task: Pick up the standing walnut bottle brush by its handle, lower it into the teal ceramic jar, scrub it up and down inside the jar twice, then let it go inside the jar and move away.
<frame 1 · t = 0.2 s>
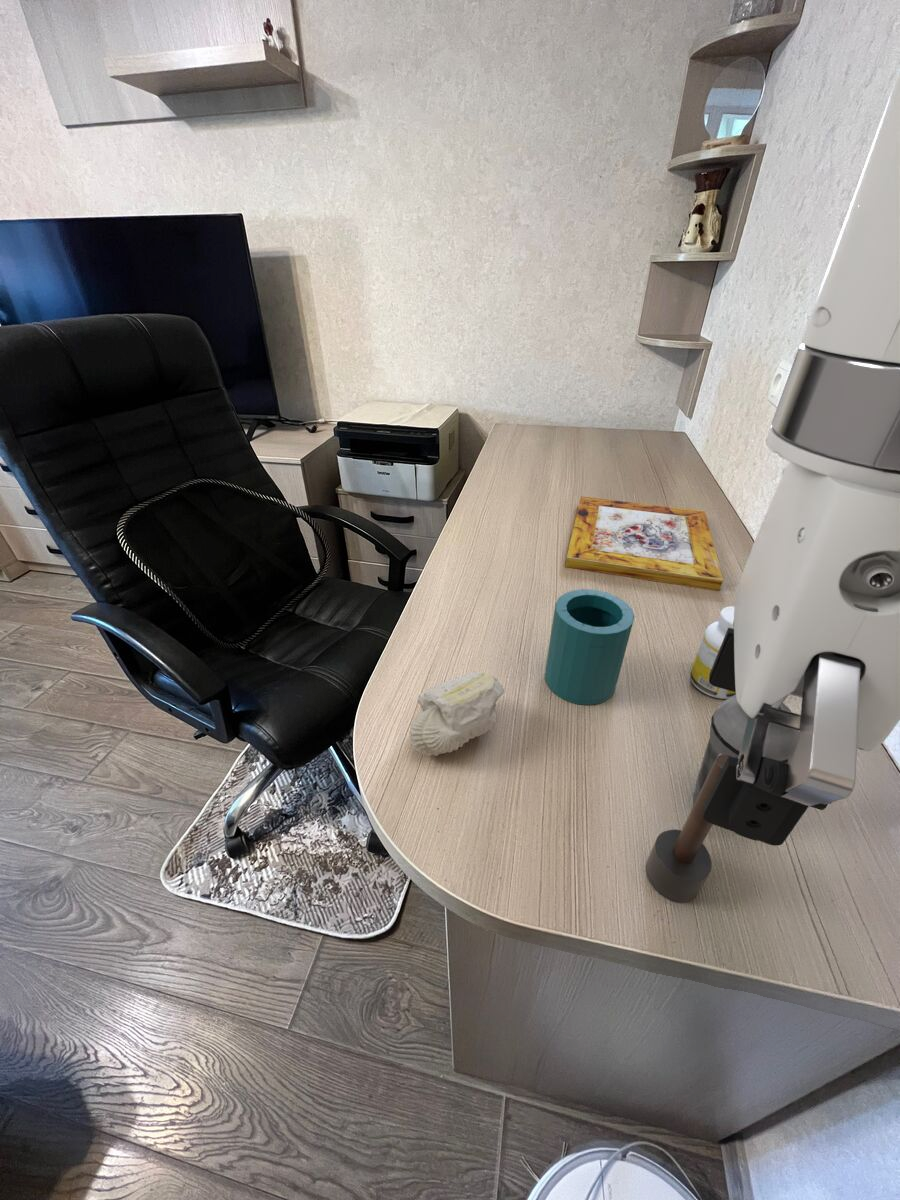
hand: (737, 749, 26), 27 cm above the table, tool pointing down, fingers open, 9 cm apart
picture frame: (639, 542, 104), on the table
beverage cup: (714, 805, 54), on the table
pill bottle: (713, 685, 69), on the table
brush: (671, 876, 48), on the table
fossil replica: (454, 734, 62), on the table
jar: (579, 679, 70), on the table
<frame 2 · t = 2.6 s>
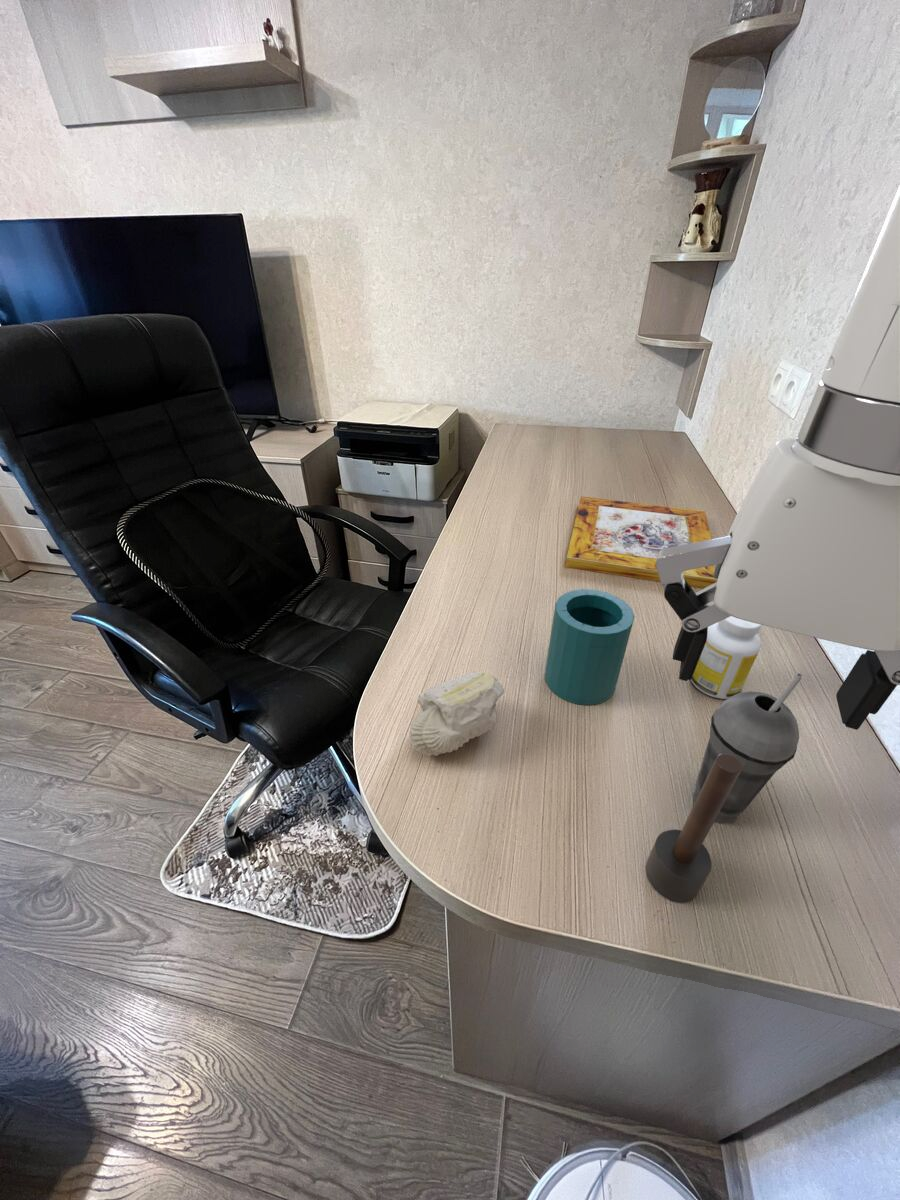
hand: (761, 689, 34), 25 cm above the table, tool pointing down, fingers open, 9 cm apart
nothing on the table moved.
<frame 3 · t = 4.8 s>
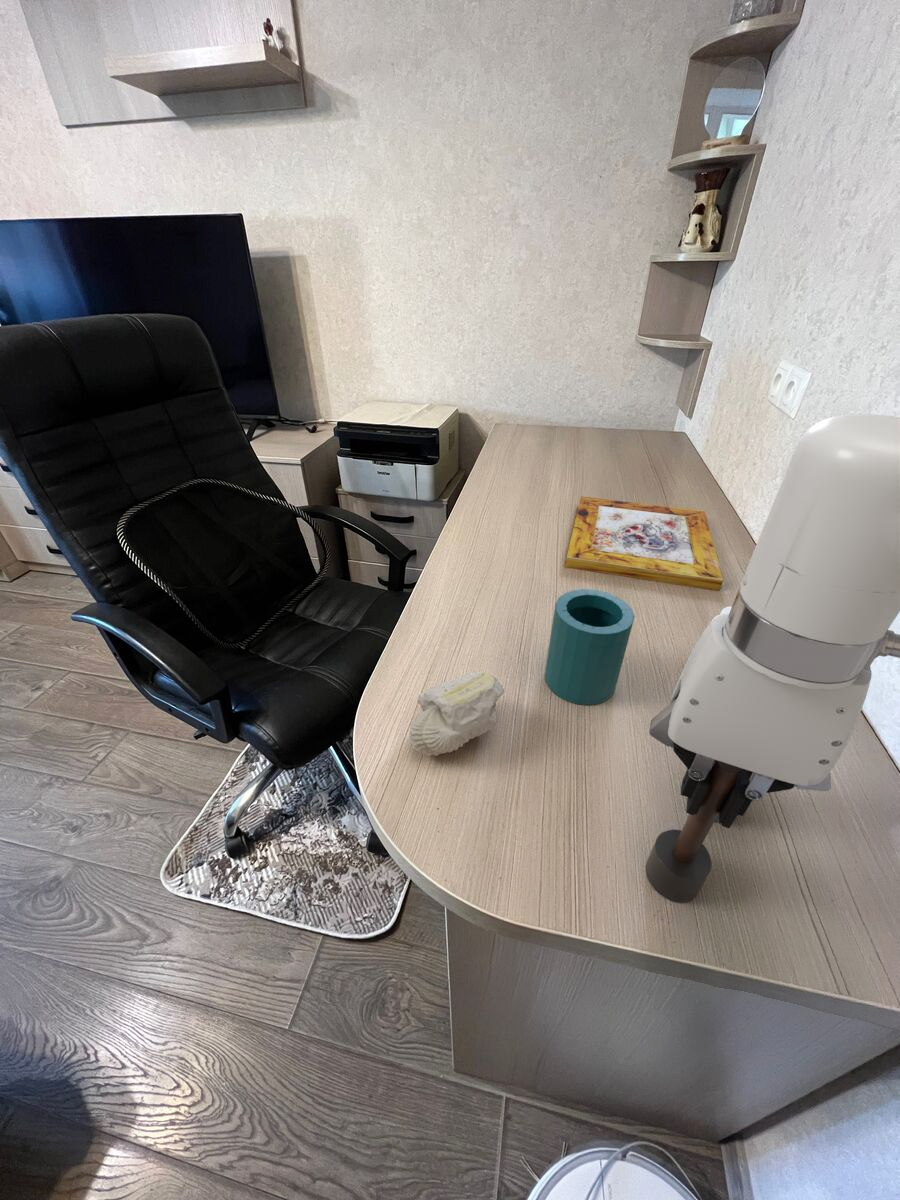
hand: (707, 805, 41), 12 cm above the table, tool pointing down, fingers closed on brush
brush: (671, 876, 48), on the table, touching gripper
everything else where it was.
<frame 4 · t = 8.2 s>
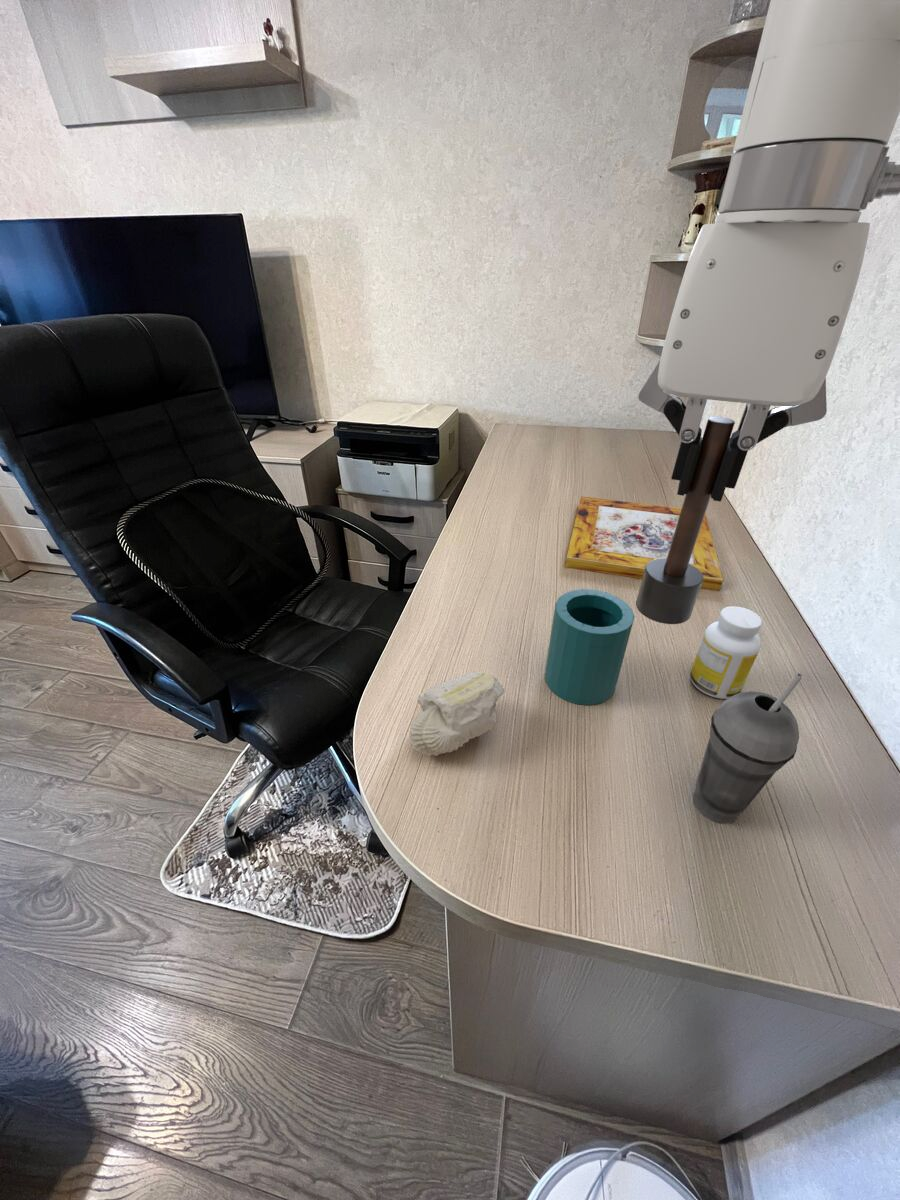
hand: (699, 490, 40), 33 cm above the table, tool pointing down, fingers closed on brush
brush: (662, 608, 46), point 22 cm above the table, touching gripper
everything else where it was.
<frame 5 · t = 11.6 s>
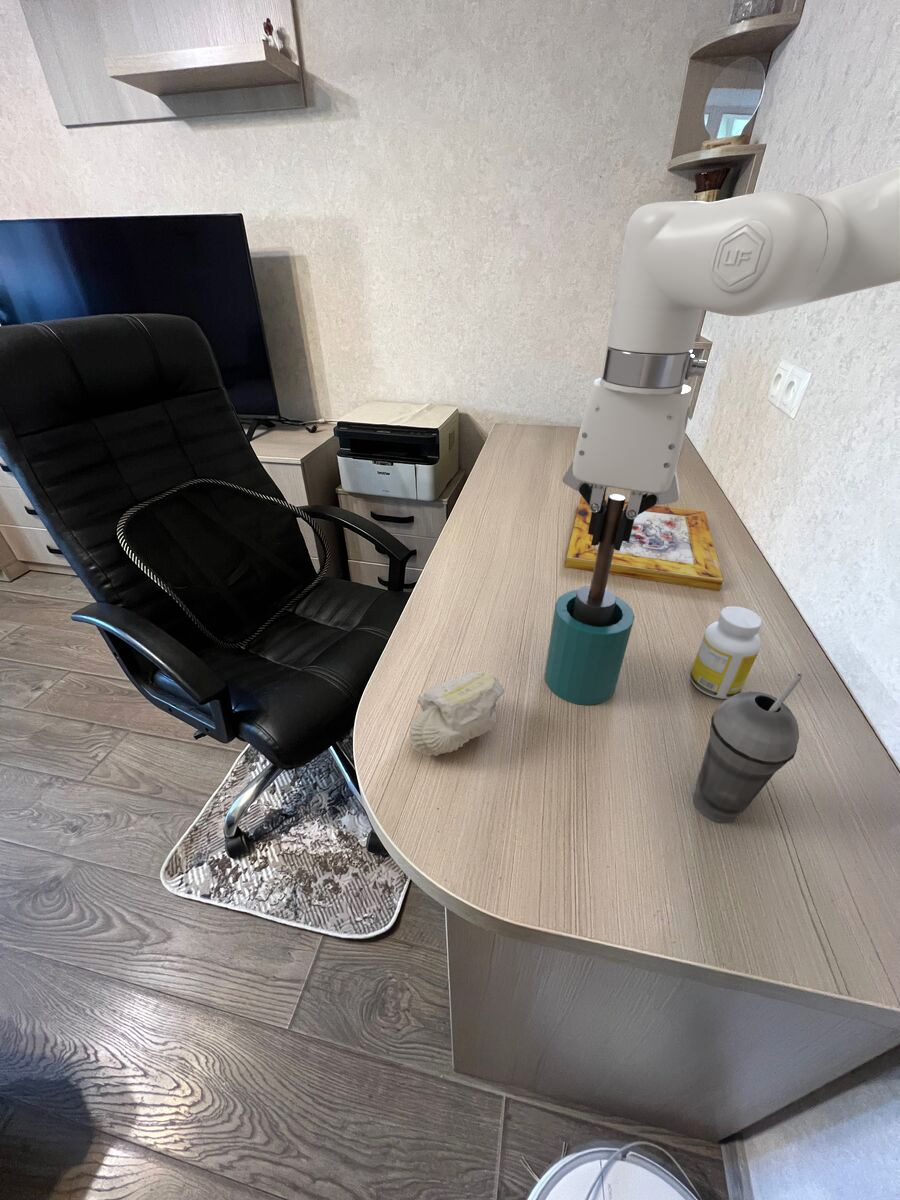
hand: (607, 541, 57), 22 cm above the table, tool pointing down, fingers closed on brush
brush: (590, 621, 64), point 10 cm above the table, touching gripper
everything else where it was.
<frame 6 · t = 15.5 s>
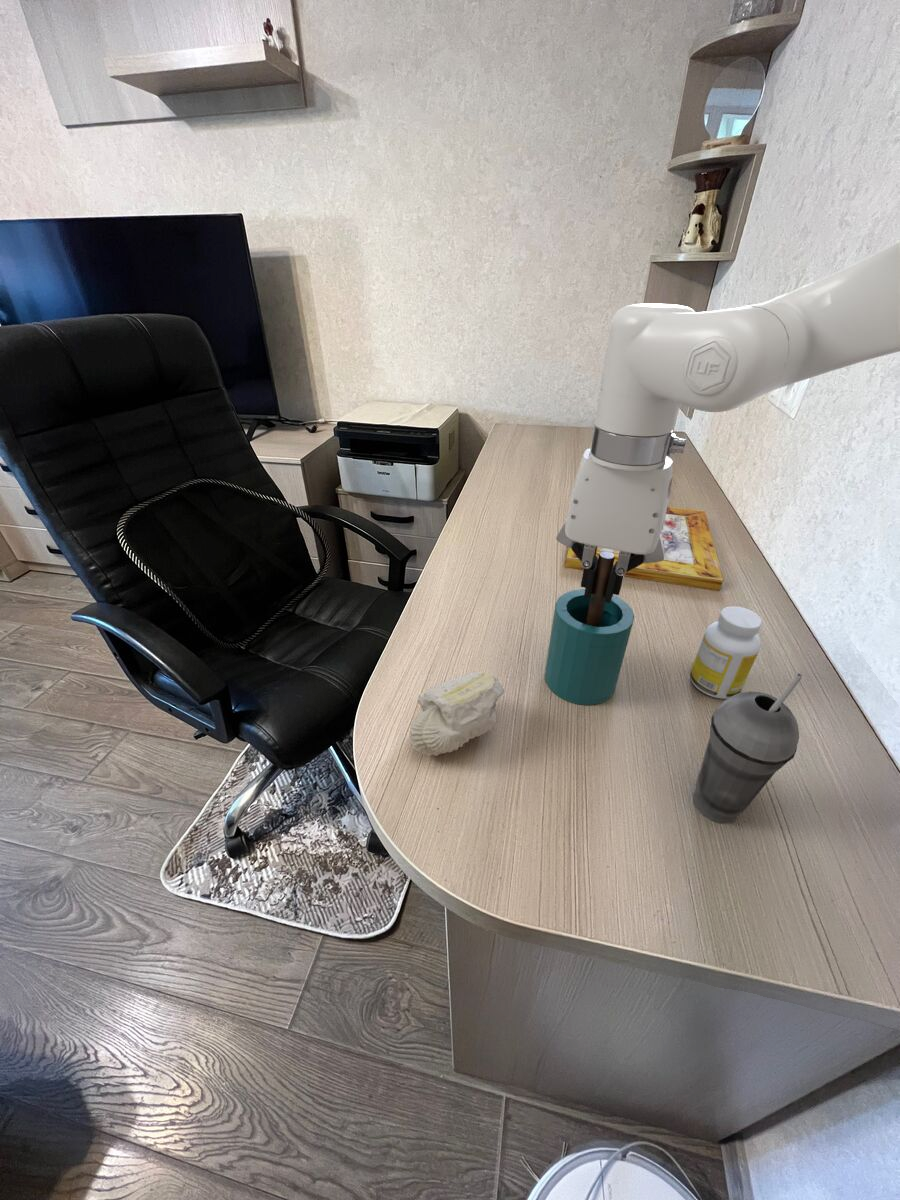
hand: (599, 593, 61), 15 cm above the table, tool pointing down, fingers closed on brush
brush: (585, 664, 68), point 3 cm above the table, touching gripper
everything else where it was.
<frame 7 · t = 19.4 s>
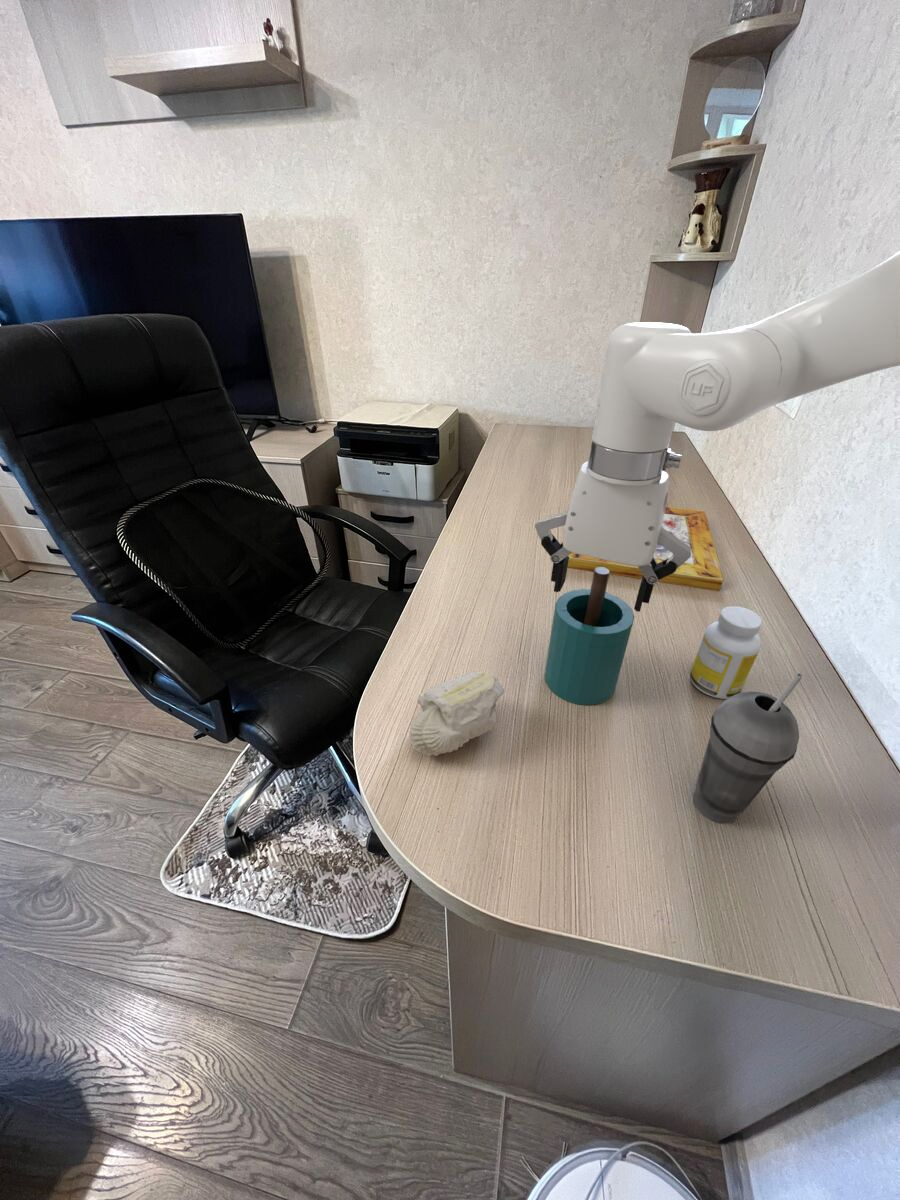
hand: (597, 595, 62), 14 cm above the table, tool pointing down, fingers open, 9 cm apart
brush: (580, 675, 69), point 1 cm above the table, touching jar
everything else where it was.
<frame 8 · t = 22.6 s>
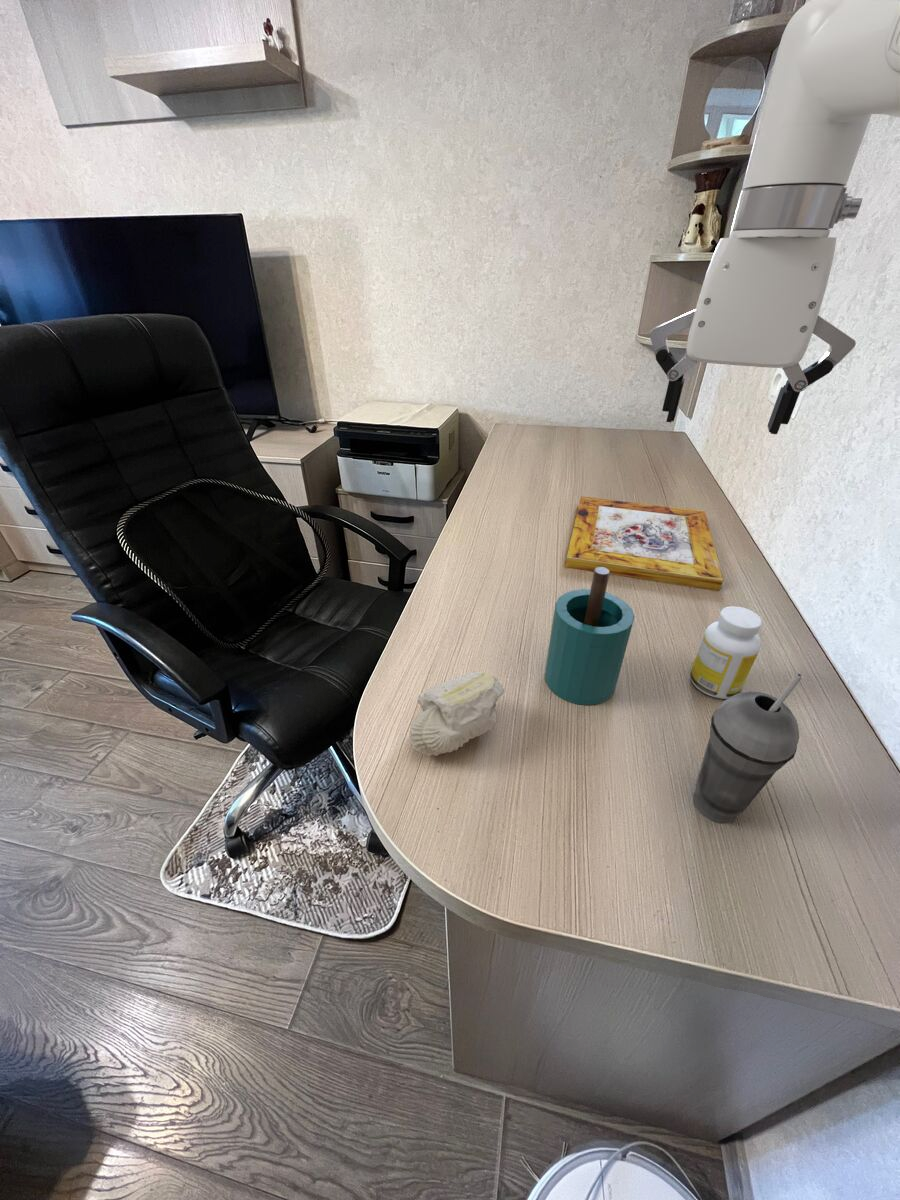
hand: (719, 424, 52), 34 cm above the table, tool pointing down, fingers open, 9 cm apart
nothing on the table moved.
at the end: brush 0.0 cm off-centre in the jar, point 0.8 cm above the jar's base; the gripper is holding nothing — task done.
